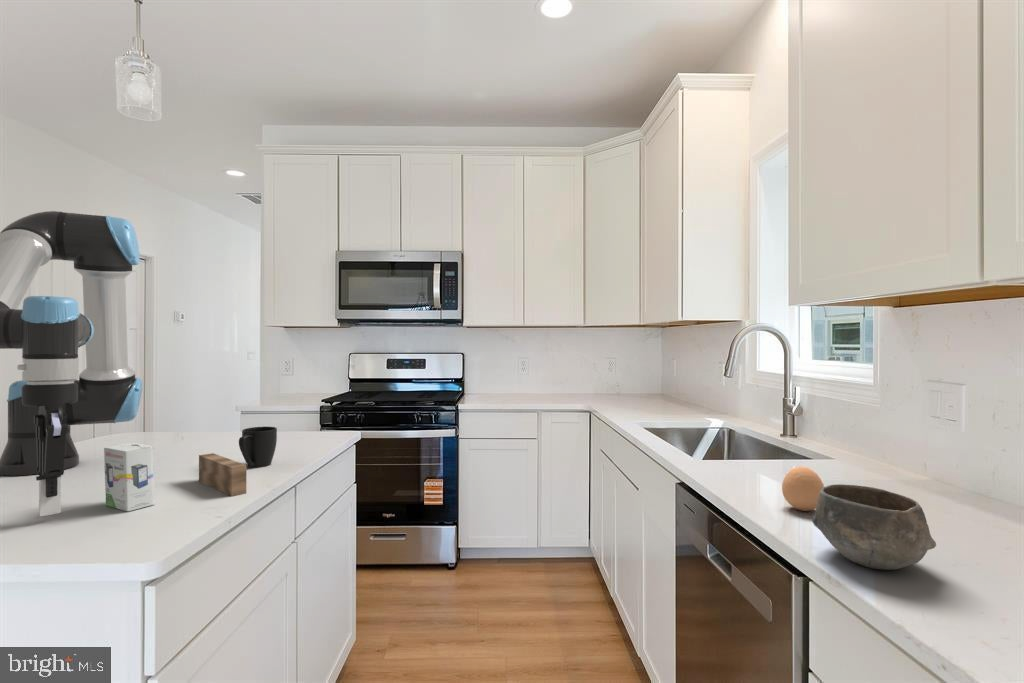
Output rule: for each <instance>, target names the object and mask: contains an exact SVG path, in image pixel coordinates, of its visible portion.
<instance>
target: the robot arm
mask: <svg viewBox="0 0 1024 683" xmlns="http://www.w3.org/2000/svg"><path fill="white" fill-rule="evenodd" d="M51 260H53V261H56V260H58V261H69V262H70V261H71V262H73V269H74V271H76V272H77V273H78V274H80V275H81V277H82V296H83V297H82V298H83V300H82V301H83V314H82V313H81V312H80V310H79V309H80V308H79V302H78V301H77V299H76V298H73V297H67V296H54V295H53V296H50V295H30V296H26V297H25V295H26V294H27V292H28V289H29V288H30V286H31V284H32V282H33V281H34V278H35V276H36V274H38V271H39V270H40V267H42V266H45V265H47V263H49V262H50V261H51ZM139 264H140V249H139V243H138V238H137V233H136V230H135V227H134V225H133V224H132V223H131V221H129V220H128V219H125V218H121V217H115V216H110V215H97V214H86V213H85V214H84V213H77V212H76V213H75V212H66V211H56V210H52V211H51V210H50V211H41V212H36V213H32V214H28V215H27V216H26V215H25V216H23V217H22V218H19V219H17V220H15V221H13V222H12V223H9V224H7V226H6V227H4V228H3V229H2V230H1V231H0V349H1V350H4V349H5V350H6V349H10V350H11V349H14V350H17V349H18V350H22V352H21V353H22V356H21V357H22V364H18V365H17V367H16V368H17V370H18V371H22V372H21V374H22V375H21V380H15V381H13V382H12V383H11V384H10V385H9V387H8V395H7V396H8V397H7V400H6V402H7V442H6V445H5V447H4V449H3V452H2V454H1V455H0V476H10V477H11V476H12V477H14V476H31V475H38V476H35V480H36V481H38V516H39V517H46V516H51V515H56V514H60V513H61V506H62V505H61V502H62V501H61V499H62V497H61V496H62V495H61V494H62V491H61V490H62V489H61V488H62V479H61V478H62V476H63V475H64V474H65V470H68V469H71V468H74V467H77V466H78V465H79V464H80V454H79V453H78V450H77V448H76V444H74V442H73V439H72V435H71V426H75V425H77V426H80V425H95V424H96V425H97V424H117V423H126V422H131V421H133V420H134V419H135V418H136V417H137V415H138V412H139V409H140V404H141V399H142V391H143V379H142V378H139V377H136V371H135V370H133V368H131V367H129V361H128V358H129V357H128V355H129V354H128V330H127V328H128V325H127V324H128V323H127V319H128V318H127V292H126V290H127V289H126V278H127V277H128V276H130V274H132V273H133V266H134V267H135V266H138V265H139ZM24 297H25V298H24ZM23 299H24V300H23ZM21 302H22V309H18V308H19V306H20V304H21ZM83 346H84V347H85V363H86V364H85V366H86V367H85V369H83V370H82V371H81V372H79V368H80V366H79V363H80V358H79V348H80V347H83Z"/></svg>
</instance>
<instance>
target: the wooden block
mask: <svg viewBox="0 0 1024 683" xmlns="http://www.w3.org/2000/svg"><path fill="white" fill-rule="evenodd" d="M247 467H248V466H247V464H246V463H245V464H244V463H242V462H239V461H236V460H234V459H230V458H228V457H225V456H221V455H219V454H217V453H214V452H212V453H206V454H199V455H198V482H200V483H202V484H204V485H207V486H208V487H211V488H213V489H215V490H217V491H219V492H221V493H223V494H226V495H228V496H230V497H234V496H239V495H240V496H241V495H244V494H247Z"/></svg>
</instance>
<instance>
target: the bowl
mask: <svg viewBox="0 0 1024 683" xmlns="http://www.w3.org/2000/svg"><path fill="white" fill-rule="evenodd" d="M814 512H815V513H814V516H813V517H812V520H811V521H812V524H813V526H814V527H815V528H816V529H818V530H819V531H820V532H821V533H822V535H823V536H824V538H826V539H827V541H828V542H829V543H830V545H831V546H832V547H834V549H836V550H837V551H838V552H839V554H841V555H842V556H843V557H844V558H846V559H848V560H850V561H851V562H853V563H856V564H858V565H859V566H862V567H866V568H869V569H878V570H899V569H903V568H905V567H908V566H911V565H914V564H915V565H916V564H917V563H920V561H922V559H923V558H925V556H926V554H927V553H928V551H930V550H933V549H935V548H936V546H937V542H936V541H935V540H934V538H933V537H932V534H931V531H930V528H929V524H928V522H927V518H926V515H925V512H924V510H923V508H922V506H921V505H920V504H919V502H918V501H917V500H915V499H913V498H910V497H907V496H906V495H905V496H904V495H902V494H899V493H895V492H892V491H888V490H885V489H882V488H878V487H873V486H872V487H871V486H862V485H857V484H842V483H841V484H840V483H838V484H830V485H826V486H824V487H823V488H822V489H821V491H820V494H819V497H818V501H817V506H816V509H815V511H814Z"/></svg>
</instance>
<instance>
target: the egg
mask: <svg viewBox="0 0 1024 683" xmlns="http://www.w3.org/2000/svg"><path fill="white" fill-rule="evenodd" d="M823 487H825V485H824V483H823V481H822V479H821V477H820V476H819V474H818V473H817V472H815V471H814V470H813V469H811V468H809V467H806V466H801V465H800V466H796V467H793V468H791V469H790V470H788V472H787V473H786V474H785V477H783V480H782V484H781V491H782V496H783V497H784V500H785V501H786V502H787V503H788V504H789V505H790V506H791V507H793V509H795V510H798V511H803V512H809V511H814V510H816V506H817V501H818V497H819V494H820V491H821V489H822V488H823Z"/></svg>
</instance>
